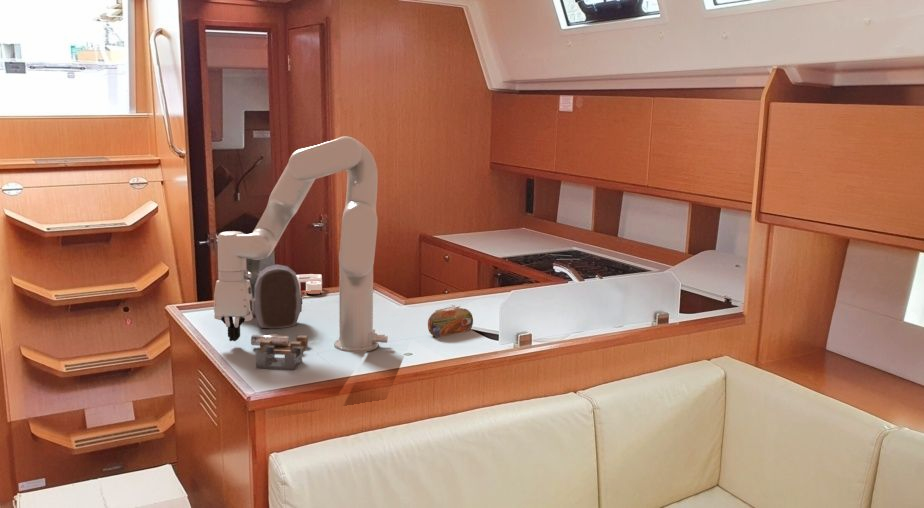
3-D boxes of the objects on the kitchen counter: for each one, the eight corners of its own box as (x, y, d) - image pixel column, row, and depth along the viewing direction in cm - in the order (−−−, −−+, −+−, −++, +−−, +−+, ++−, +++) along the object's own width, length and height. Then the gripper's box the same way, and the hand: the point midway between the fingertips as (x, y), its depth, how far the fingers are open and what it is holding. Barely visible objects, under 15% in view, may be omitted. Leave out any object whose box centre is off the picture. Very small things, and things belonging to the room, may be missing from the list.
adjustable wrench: (441, 316, 243) (441, 310, 243) (423, 314, 246) (423, 309, 246) (473, 309, 266) (473, 304, 266) (457, 308, 268) (457, 303, 268)
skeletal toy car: (272, 302, 269) (272, 282, 268) (266, 296, 279) (266, 276, 277) (328, 298, 277) (328, 279, 276) (320, 292, 287) (320, 273, 286)
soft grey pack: (253, 332, 230) (252, 267, 227) (252, 325, 238) (250, 262, 235) (304, 328, 235) (303, 265, 232) (300, 322, 243) (300, 260, 239)
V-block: (302, 361, 202) (302, 347, 202) (294, 370, 195) (294, 355, 195) (265, 359, 203) (265, 345, 202) (256, 368, 196) (255, 353, 195)
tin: (431, 340, 226) (431, 313, 224) (426, 338, 228) (426, 310, 227) (473, 334, 234) (474, 307, 232) (467, 331, 236) (468, 305, 235)
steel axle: (289, 345, 214) (289, 334, 214) (286, 348, 211) (286, 337, 211) (254, 343, 215) (254, 333, 215) (251, 346, 212) (250, 336, 212)
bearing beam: (307, 345, 217) (307, 335, 216) (299, 354, 209) (299, 343, 208) (269, 344, 218) (269, 334, 217) (260, 352, 209) (259, 342, 209)
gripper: (263, 274, 214) (264, 337, 217) (211, 272, 215) (213, 335, 218) (254, 279, 207) (255, 344, 210) (200, 277, 207) (202, 342, 210)
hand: (234, 339), depth 214 cm, fingers closed
